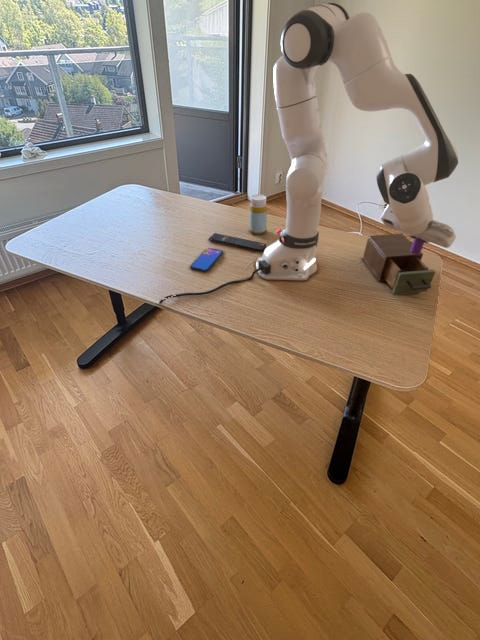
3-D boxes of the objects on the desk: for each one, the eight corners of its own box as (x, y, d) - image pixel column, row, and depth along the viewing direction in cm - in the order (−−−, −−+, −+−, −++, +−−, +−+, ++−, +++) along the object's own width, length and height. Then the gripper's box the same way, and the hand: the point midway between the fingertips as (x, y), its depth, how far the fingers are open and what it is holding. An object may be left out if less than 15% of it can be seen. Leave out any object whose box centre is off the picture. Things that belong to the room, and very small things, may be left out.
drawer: (434, 299, 110) (443, 279, 105) (399, 302, 109) (406, 282, 104) (407, 269, 124) (414, 250, 118) (376, 272, 123) (381, 252, 117)
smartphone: (189, 266, 127) (207, 247, 137) (189, 268, 128) (207, 249, 138) (206, 270, 125) (223, 250, 135) (207, 272, 126) (224, 252, 136)
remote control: (215, 235, 147) (214, 233, 146) (267, 247, 139) (267, 244, 138) (209, 241, 143) (208, 238, 142) (262, 253, 136) (262, 250, 135)
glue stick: (413, 254, 107) (421, 230, 102) (408, 249, 109) (416, 226, 104) (422, 253, 107) (431, 230, 102) (417, 249, 110) (425, 225, 104)
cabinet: (413, 278, 121) (423, 253, 115) (378, 281, 120) (386, 256, 113) (394, 256, 132) (402, 233, 126) (362, 259, 131) (368, 235, 125)
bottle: (264, 235, 146) (266, 201, 137) (248, 234, 148) (248, 200, 138) (267, 228, 152) (268, 194, 142) (251, 227, 153) (251, 193, 143)
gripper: (459, 219, 88) (461, 241, 99) (387, 197, 100) (396, 219, 111) (445, 240, 89) (448, 260, 100) (375, 216, 101) (385, 236, 112)
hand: (420, 238), depth 106 cm, fingers closed on glue stick, 3 cm apart
